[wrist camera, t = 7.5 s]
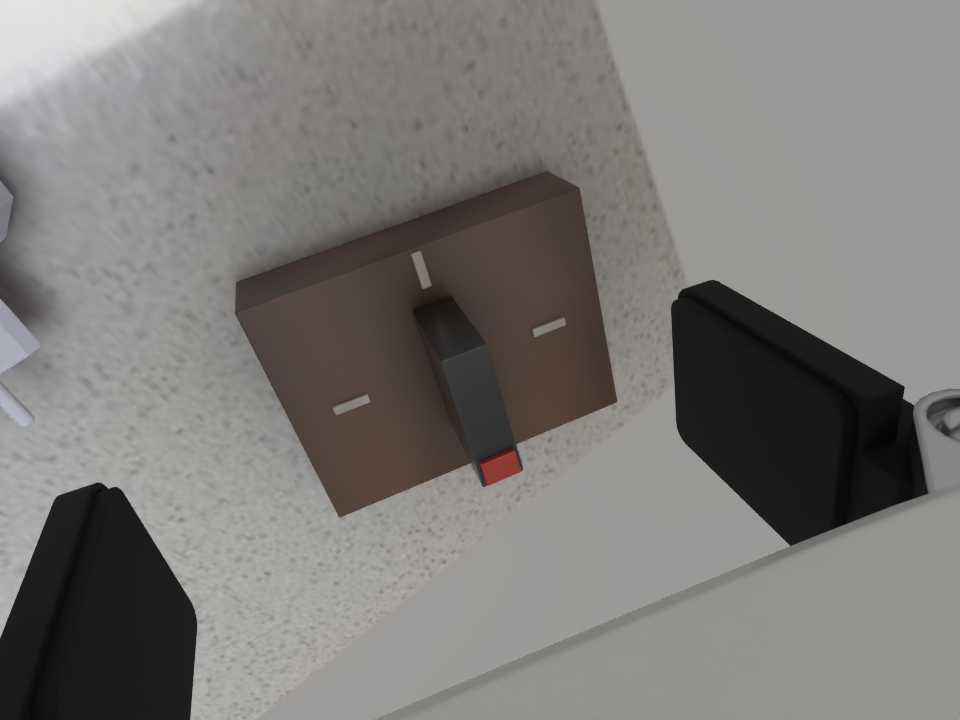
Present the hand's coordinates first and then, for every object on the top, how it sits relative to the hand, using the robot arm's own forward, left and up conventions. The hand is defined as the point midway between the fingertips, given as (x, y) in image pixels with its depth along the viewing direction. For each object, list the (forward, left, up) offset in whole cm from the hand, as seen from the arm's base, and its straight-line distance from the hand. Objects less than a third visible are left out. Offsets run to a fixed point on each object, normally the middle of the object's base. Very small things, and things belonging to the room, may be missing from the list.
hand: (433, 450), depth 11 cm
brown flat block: (-2, +6, -16) cm, 18 cm away
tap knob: (-2, +6, -13) cm, 15 cm away
